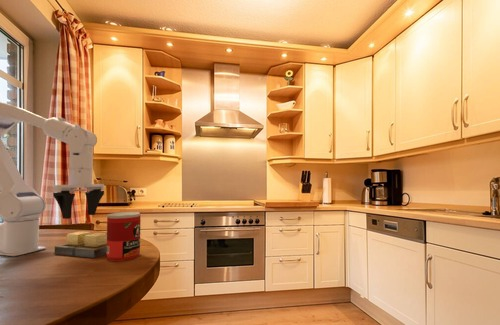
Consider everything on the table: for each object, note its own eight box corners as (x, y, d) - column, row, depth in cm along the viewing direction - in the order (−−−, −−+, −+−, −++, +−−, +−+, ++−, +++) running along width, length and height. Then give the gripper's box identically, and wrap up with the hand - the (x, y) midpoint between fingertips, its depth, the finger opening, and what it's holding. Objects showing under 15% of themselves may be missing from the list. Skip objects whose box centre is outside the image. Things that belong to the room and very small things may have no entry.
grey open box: (54, 254, 70) (55, 235, 70) (81, 246, 77) (82, 229, 78) (93, 258, 66) (94, 238, 66) (118, 249, 73) (119, 232, 73)
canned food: (127, 262, 62) (128, 216, 63) (98, 260, 63) (99, 215, 64) (146, 253, 69) (146, 212, 70) (120, 252, 71) (120, 211, 72)
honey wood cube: (84, 254, 69) (84, 235, 70) (97, 250, 73) (97, 232, 73) (95, 255, 68) (96, 236, 68) (108, 251, 72) (108, 233, 72)
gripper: (66, 168, 67) (64, 220, 66) (112, 169, 81) (111, 213, 80) (47, 168, 69) (45, 220, 69) (94, 170, 83) (93, 213, 82)
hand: (79, 216), depth 74 cm, fingers open, 7 cm apart
